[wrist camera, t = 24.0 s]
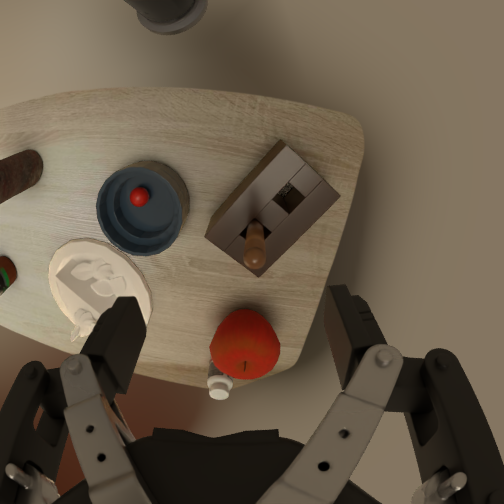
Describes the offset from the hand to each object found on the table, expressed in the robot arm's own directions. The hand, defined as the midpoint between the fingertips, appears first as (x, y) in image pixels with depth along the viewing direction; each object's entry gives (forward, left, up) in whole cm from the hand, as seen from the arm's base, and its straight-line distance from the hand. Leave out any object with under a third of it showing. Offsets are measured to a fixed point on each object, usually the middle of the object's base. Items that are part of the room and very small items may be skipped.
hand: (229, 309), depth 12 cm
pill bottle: (+24, -36, -36) cm, 57 cm away
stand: (+7, -2, -36) cm, 37 cm away
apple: (+20, -23, -36) cm, 47 cm away
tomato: (-10, -15, -34) cm, 38 cm away
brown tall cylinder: (-33, -25, -36) cm, 55 cm away
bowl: (-8, -15, -36) cm, 40 cm away
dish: (-7, -39, -36) cm, 54 cm away
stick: (+6, -5, -25) cm, 26 cm away
